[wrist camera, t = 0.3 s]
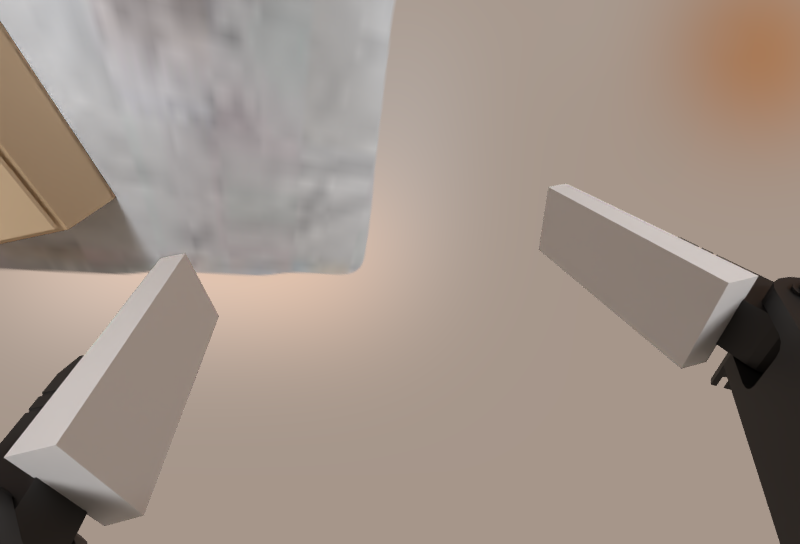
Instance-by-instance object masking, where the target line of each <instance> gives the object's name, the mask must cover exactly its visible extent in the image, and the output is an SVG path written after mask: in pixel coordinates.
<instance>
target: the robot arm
mask: <svg viewBox="0 0 800 544" xmlns="http://www.w3.org/2000/svg"><path fill="white" fill-rule="evenodd" d="M539 250H540V251H541V252H542V253H543V254H545V255H546V256H547V257H548V258H549V259H550V260H552V261H553V262H554V263H555V264H557V265H558V266H559V267H560V268H561V269H562V270H564V271H565V272H566V273H567V274H569V275H570V276H571V277H572V278H573V279H574V280H576V281H577V282H578V283H579V284H581V285H582V286H583V287H584V288H585V289H587V290H588V291H589V292H590V293H591V294H592V295H594V296H595V297H596V298H597V299H598V300H600V301H601V302H602V303H603V304H604V305H606V306H607V307H608V308H609V309H610V310H612V311H613V312H614V313H615V314H616V315H618V316H619V317H620V318H621V319H622V320H624V321H625V322H626V323H627V324H628V325H630V326H631V327H632V328H633V329H634V330H636V331H637V332H638V333H639V334H640V335H642V336H643V337H644V338H645V339H646V340H648V341H649V342H650V343H651V344H652V345H654V346H655V347H656V348H657V349H658V350H660V351H661V352H662V353H663V354H664V355H666V356H667V357H668V358H669V359H670V360H672V361H673V362H674V363H675V364H676V365H677V366H679V367H680V368H681V369H682V368H685V367H689V366H692V365H696V364H700V363H703V362H706V361H707V360H708V358H709V356H710V355H711V353H712V352H713V350H714V348H715V346H716V345H719V346H720V347H721V348H723V349H724V350H726V351H727V352H728V353H727V355H726V357H725V358H724V360H723V361H722V363H721V364H720V366H719V367H718V369H717V371H716V372H715V374H714V375H713V377H712V378H711V385H715V386H716V385H717V384H718V383H719V381H720V380H721V378H722V377H727V378H728V382H727V383H726V385H725V386H724V388H726V389H730V390H732V393H733V396H734V400H735V403H736V406H737V409H738V412H739V416H740V419H741V422H742V425H743V428H744V431H745V434H746V438H747V441H748V444H749V447H750V450H751V453H752V456H753V460H754V463H755V466H756V469H757V472H758V475H759V479H760V482H761V485H762V488H763V491H764V494H765V497H766V500H767V504H768V507H769V510H770V513H771V516H772V519H773V522H774V525H775V529H776V532H777V535H778V538H779V541H780V544H800V278H795V277H787V278H780V279H778V280H776V281H775V282H773V281H770V280H768V279H766V278H764V277H762V276H760V275H758V274H756V273H754V272H752V271H749V270H747V269H745V268H743V267H741V266H739V265H737V264H735V263H733V262H731V261H729V260H726V259H724V258H722V257H720V256H718V255H714V254H713V253H712V252H710V251H708V250H706V249H703V248H699V246H697V245H695V244H693V243H691V242H689V241H687V240H685V239H682V238H679V237H676V236H674V235H672V234H670V233H668V232H666V231H664V230H662V229H660V228H658V227H656V226H654V225H652V224H649V223H647V222H645V221H643V220H641V219H639V218H637V217H635V216H633V215H631V214H629V213H627V212H624V211H622V210H620V209H618V208H616V207H614V206H612V205H610V204H608V203H606V202H603V201H602V200H599V199H597V198H595V197H593V196H591V195H589V194H587V193H585V192H583V191H581V190H579V189H577V188H574V187H572V186H570V185H568V184H562V185H557V186H551V187H548V193H547V200H546V206H545V212H544V219H543V226H542V232H541V238H540V245H539ZM218 317H219V316H218V314H217V312H216V310H215V308H214V306H213V304H212V302H211V301H210V299H209V297H208V295H207V293H206V291H205V289H204V287H203V285H202V284H201V282H200V280H199V278H198V276H197V274H196V272H195V270H194V269H193V267H192V265H191V263H190V261H189V259H188V257H187V255H186V254H185V253H184V254H179V255H173V256H168V257H162V258H160V259H159V261H158V262H157V263H156V264H155V266H154V267H153V268H152V270H151V271H150V272H149V273H148V275H147V276H146V277H145V279H144V280H143V281H142V282H141V284H140V285H139V286H138V287H137V289H136V290H135V291H134V292H133V294H132V295H131V296H130V298H129V299H128V300H127V301H126V303H125V304H124V305H123V306H122V308H121V309H120V310H119V311H118V313H117V314H116V315H115V317H114V318H113V319H112V320H111V322H110V323H109V324H108V326H107V327H106V328H105V329H104V331H103V332H102V333H101V334H100V336H99V337H98V338H97V339H96V341H95V342H94V343H93V345H92V346H91V347H90V348H89V350H88V351H87V352H86V354H85V355H83V356H79V357H78V358H77V359H76V360H74V361H73V362H72V363H71V364H69V365H68V366H67V367H66V368H64V369H63V370H62V371H61V372H60V373H58V374H57V376H56V377H55V378H54V379H53V380H52V381H51V383H50V384H49V385H48V386H47V388H46V389H45V390H44V391H43V392H42V394H43V395H42V396H40V397H38V399H37V400H36V401H35V402H34V403H33V405H32V406H31V407H30V408H29V413H25V414H24V415H23V417H22V418H21V419H20V420H19V422H18V423H17V424H16V425H15V426H14V428H13V429H12V430H11V431H10V432H9V434H8V435H7V436H6V437H5V438H4V440H3V441H2V442H1V443H0V544H87V541H86V540H85V539H84V538H82V536H80V535H79V534H77V532H78V530H79V528H80V526H81V524H82V522H83V520H84V518H85V516H86V514H87V515H89V516H90V517H92V518H93V519H95V520H96V521H98V522H99V523H101V524H102V525H104V526H106V525H110V524H113V523H117V522H121V521H125V520H129V519H132V518H136V517H139V516H143V515H144V513H145V511H146V508H147V505H148V503H149V500H150V497H151V495H152V492H153V489H154V487H155V484H156V481H157V479H158V476H159V474H160V471H161V468H162V465H163V463H164V460H165V458H166V455H167V452H168V450H169V447H170V444H171V442H172V439H173V436H174V434H175V431H176V428H177V426H178V423H179V420H180V418H181V415H182V412H183V410H184V407H185V404H186V402H187V399H188V397H189V394H190V391H191V389H192V386H193V383H194V381H195V378H196V375H197V373H198V370H199V367H200V364H201V362H202V359H203V356H204V354H205V351H206V349H207V346H208V343H209V341H210V338H211V336H212V333H213V330H214V328H215V325H216V322H217V319H218Z"/></svg>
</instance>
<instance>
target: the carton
mask: <svg viewBox="0 0 800 544" xmlns="http://www.w3.org/2000/svg"><path fill="white" fill-rule="evenodd" d="M115 198H116V196H115V195H114V193H113V192H112V190H111V189H110V187H109V186H108V184H107V183H106V181H105V180H104V178H103V177H102V175H101V174H100V172H99V171H98V169H97V168H96V166H95V164H94V163H93V161H92V160H91V158H90V157H89V155H88V154H87V152H86V151H85V149H84V148H83V146H82V145H81V143H80V142H79V140H78V139H77V137H76V136H75V134H74V133H73V131H72V130H71V128H70V127H69V125H68V124H67V122H66V120H65V119H64V117H63V116H62V114H61V113H60V111H59V110H58V108H57V107H56V105H55V104H54V102H53V101H52V99H51V98H50V96H49V95H48V93H47V92H46V90H45V89H44V87H43V86H42V84H41V83H40V81H39V79H38V78H37V76H36V75H35V73H34V72H33V70H32V69H31V67H30V66H29V64H28V63H27V61H26V60H25V58H24V57H23V55H22V54H21V52H20V51H19V49H18V48H17V46H16V45H15V43H14V42H13V40H12V38H11V37H10V35H9V34H8V32H7V31H6V29H5V28H4V26H3V25H2V23H1V22H0V244H2V243H7V242H12V241H17V240H21V239H26V238H31V237H35V236H40V235H45V234H49V233H54V232H59V231H64V230H68V229H70V228H71V227H73V226H74V225H76V224H77V223H79V222H80V221H82V220H83V219H85V218H86V217H88V216H89V215H91V214H92V213H94V212H95V211H97V210H98V209H100V208H101V207H103V206H104V205H106V204H107V203H109V202H110V201H112V200H113V199H115Z"/></svg>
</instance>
